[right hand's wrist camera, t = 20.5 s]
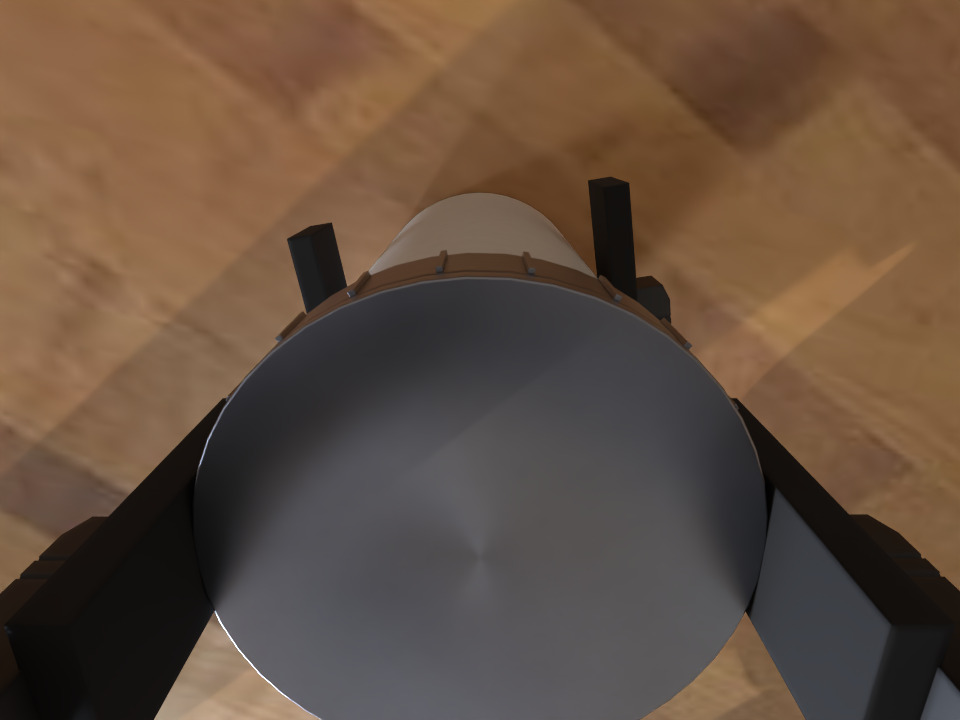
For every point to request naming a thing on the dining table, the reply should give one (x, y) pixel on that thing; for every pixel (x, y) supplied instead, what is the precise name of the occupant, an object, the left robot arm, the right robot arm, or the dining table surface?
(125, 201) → the dining table surface
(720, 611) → the lid
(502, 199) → the jar
